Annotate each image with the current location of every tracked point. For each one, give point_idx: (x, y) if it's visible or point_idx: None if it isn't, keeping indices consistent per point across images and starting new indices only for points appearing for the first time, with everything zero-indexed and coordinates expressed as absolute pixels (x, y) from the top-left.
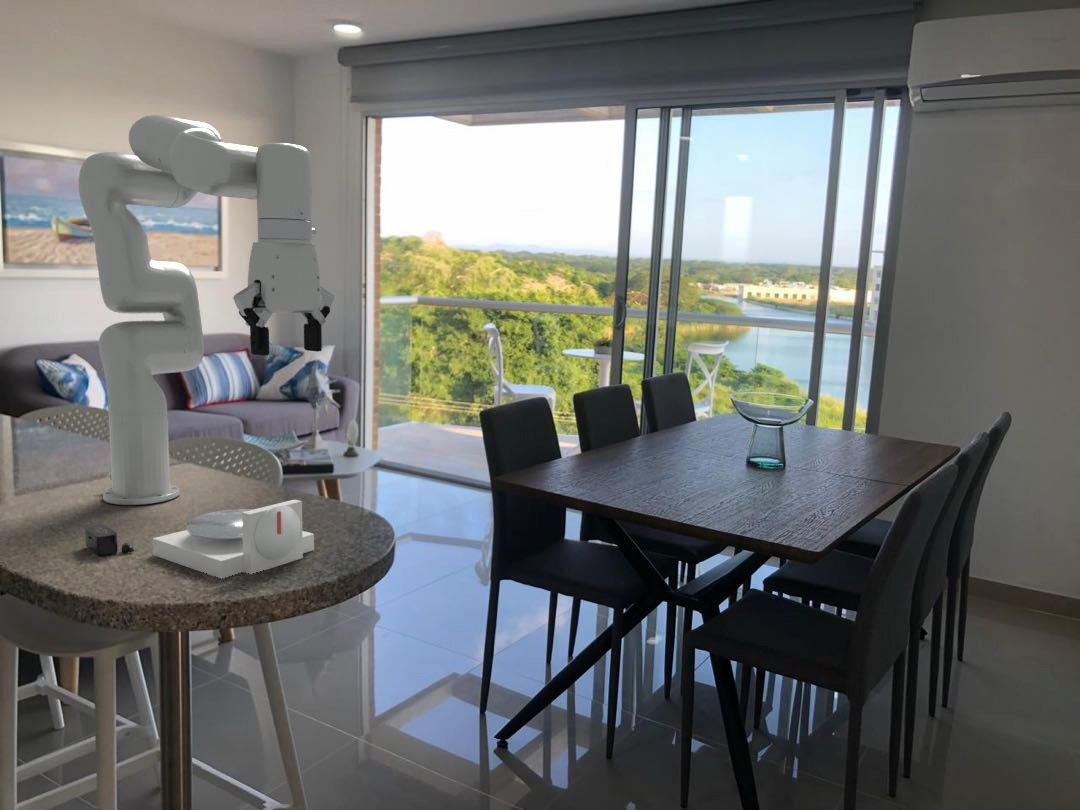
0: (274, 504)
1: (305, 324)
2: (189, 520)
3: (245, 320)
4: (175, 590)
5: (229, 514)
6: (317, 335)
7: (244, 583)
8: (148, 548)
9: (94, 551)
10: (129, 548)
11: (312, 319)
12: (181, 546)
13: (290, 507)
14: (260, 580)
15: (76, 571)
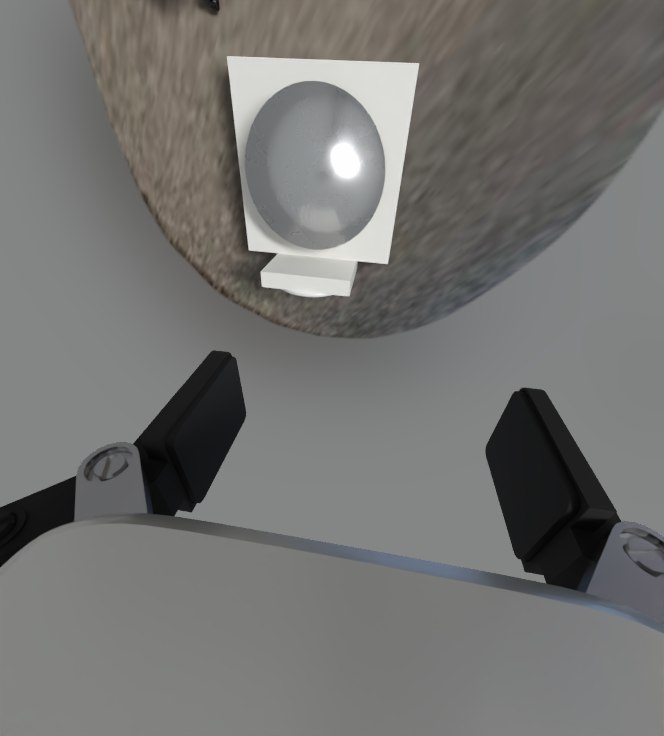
0: (313, 277)
1: (582, 510)
2: (267, 101)
3: (66, 484)
4: (206, 230)
5: (333, 131)
6: (502, 510)
7: None
8: (248, 5)
9: None
10: (211, 2)
11: (577, 581)
12: (241, 149)
13: (326, 295)
14: None
15: (127, 31)
